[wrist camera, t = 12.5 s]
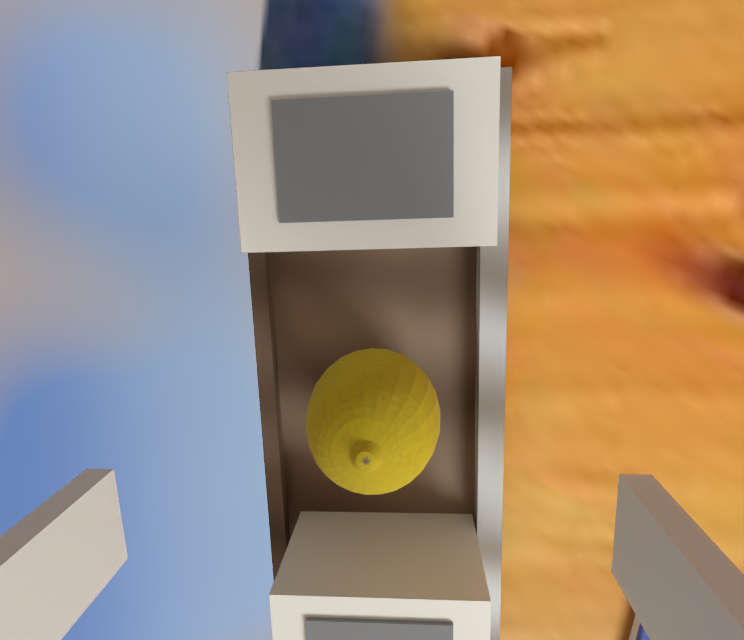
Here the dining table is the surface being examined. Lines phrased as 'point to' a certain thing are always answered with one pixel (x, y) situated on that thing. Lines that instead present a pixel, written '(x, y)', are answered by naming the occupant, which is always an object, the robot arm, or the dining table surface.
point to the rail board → (402, 335)
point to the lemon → (373, 421)
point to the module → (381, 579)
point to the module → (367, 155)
